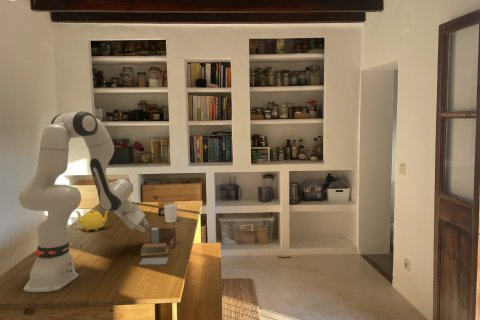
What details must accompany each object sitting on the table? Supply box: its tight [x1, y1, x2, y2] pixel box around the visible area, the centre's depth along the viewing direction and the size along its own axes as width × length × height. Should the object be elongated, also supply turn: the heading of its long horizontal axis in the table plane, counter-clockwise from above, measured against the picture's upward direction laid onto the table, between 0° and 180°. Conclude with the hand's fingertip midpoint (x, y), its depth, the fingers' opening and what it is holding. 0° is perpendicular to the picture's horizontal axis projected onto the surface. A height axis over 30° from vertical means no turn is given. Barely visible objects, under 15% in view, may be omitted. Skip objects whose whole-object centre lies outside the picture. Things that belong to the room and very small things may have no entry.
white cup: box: [164, 203, 178, 223], centre depth 270 cm, size 8×8×10 cm
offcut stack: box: [140, 242, 169, 257], centre depth 208 cm, size 5×12×4 cm, turn 91°
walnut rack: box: [149, 227, 177, 249], centre depth 221 cm, size 10×13×8 cm
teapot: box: [75, 209, 110, 232], centre depth 255 cm, size 20×15×12 cm
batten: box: [151, 227, 160, 243], centre depth 216 cm, size 4×3×10 cm
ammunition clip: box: [157, 197, 175, 217], centre depth 285 cm, size 11×2×12 cm, turn 89°
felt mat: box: [138, 257, 170, 266], centre depth 197 cm, size 8×12×1 cm, turn 91°
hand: (146, 228), depth 216 cm, fingers open, 8 cm apart
